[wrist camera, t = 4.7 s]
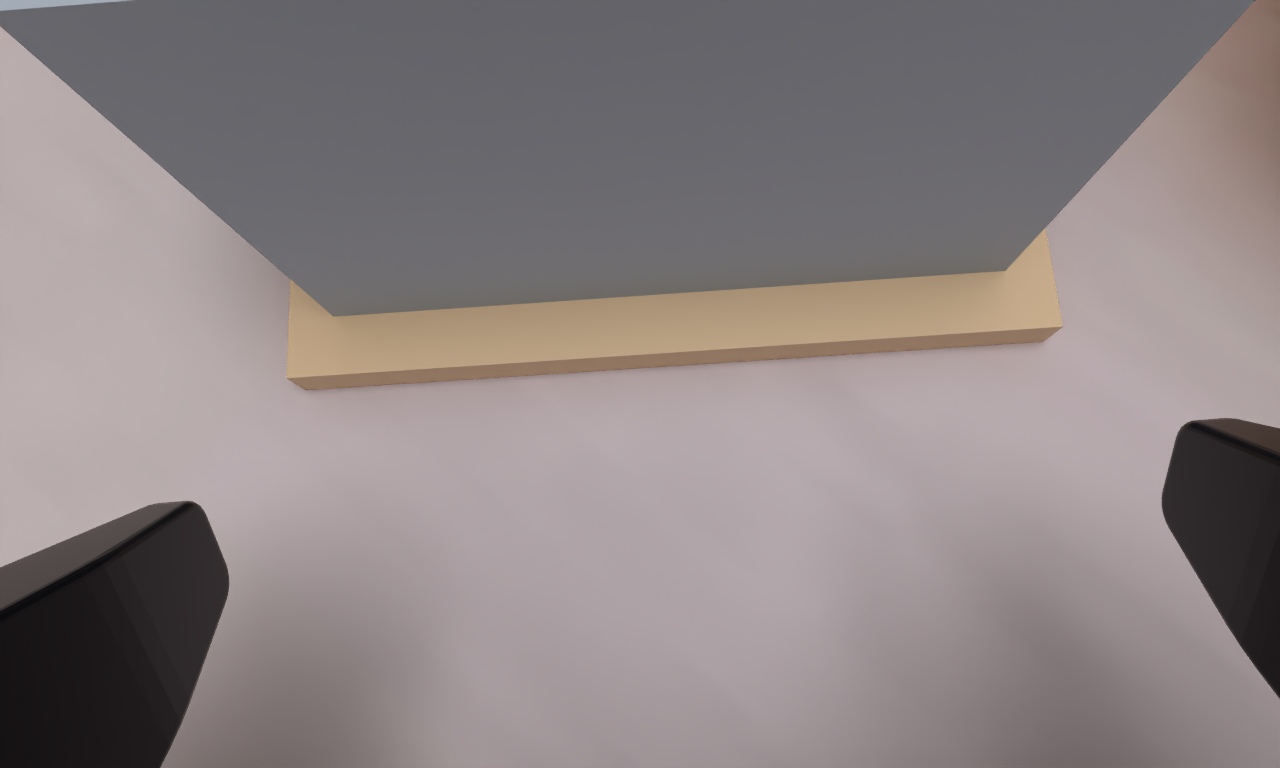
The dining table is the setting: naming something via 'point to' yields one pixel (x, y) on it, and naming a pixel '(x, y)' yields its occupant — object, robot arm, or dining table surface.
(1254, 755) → the dining table surface
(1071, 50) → the tea caddy
